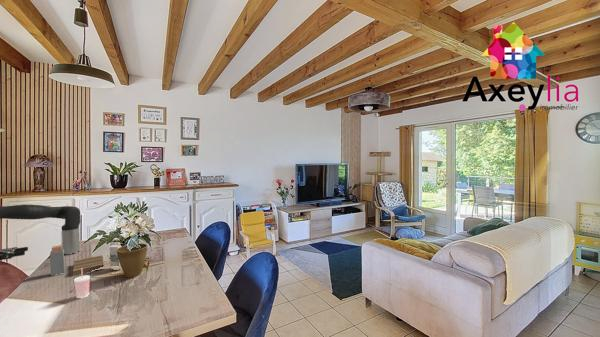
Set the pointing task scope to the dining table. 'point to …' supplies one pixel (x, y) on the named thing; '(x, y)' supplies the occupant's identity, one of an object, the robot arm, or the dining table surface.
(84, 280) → the beverage cup
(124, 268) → the plant pot
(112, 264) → the syrup box
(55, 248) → the block
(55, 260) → the grey open box
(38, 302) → the dining table surface
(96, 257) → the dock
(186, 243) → the dining table surface
